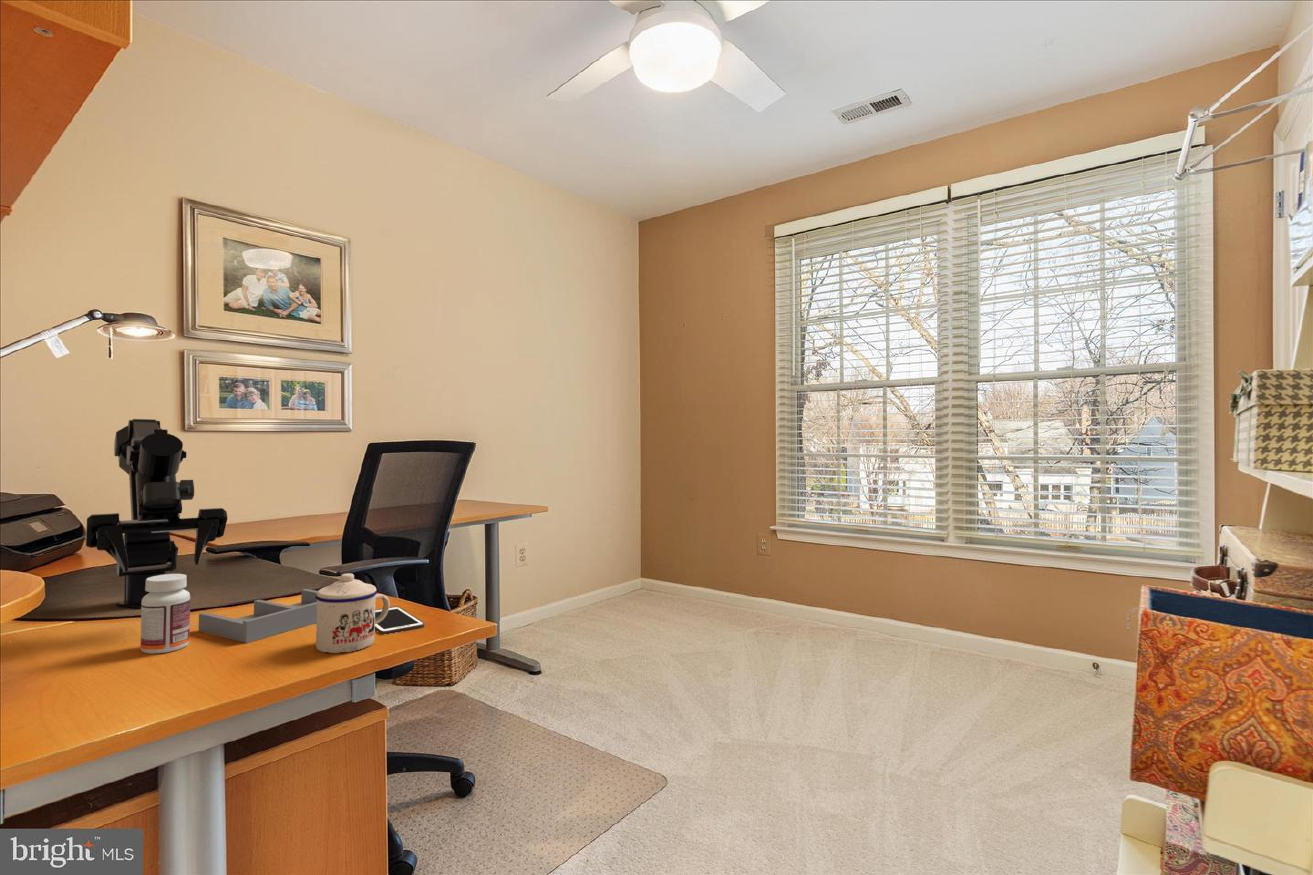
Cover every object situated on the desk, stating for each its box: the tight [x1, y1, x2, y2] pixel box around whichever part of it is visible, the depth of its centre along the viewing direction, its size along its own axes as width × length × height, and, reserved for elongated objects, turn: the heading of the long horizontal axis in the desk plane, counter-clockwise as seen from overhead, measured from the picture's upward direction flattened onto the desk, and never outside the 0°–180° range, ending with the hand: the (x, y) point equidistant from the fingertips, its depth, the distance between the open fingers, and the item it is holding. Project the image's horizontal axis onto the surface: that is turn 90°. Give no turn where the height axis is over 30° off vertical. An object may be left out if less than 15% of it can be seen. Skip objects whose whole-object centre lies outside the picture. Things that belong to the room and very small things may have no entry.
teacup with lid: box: [315, 573, 391, 654], centre depth 104 cm, size 12×9×12 cm
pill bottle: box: [140, 573, 191, 655], centre depth 99 cm, size 6×6×11 cm
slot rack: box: [198, 588, 319, 644], centre depth 114 cm, size 13×20×4 cm, turn 156°
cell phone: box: [375, 605, 425, 635], centre depth 116 cm, size 8×15×1 cm, turn 41°
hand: (162, 566), depth 103 cm, fingers open, 9 cm apart
